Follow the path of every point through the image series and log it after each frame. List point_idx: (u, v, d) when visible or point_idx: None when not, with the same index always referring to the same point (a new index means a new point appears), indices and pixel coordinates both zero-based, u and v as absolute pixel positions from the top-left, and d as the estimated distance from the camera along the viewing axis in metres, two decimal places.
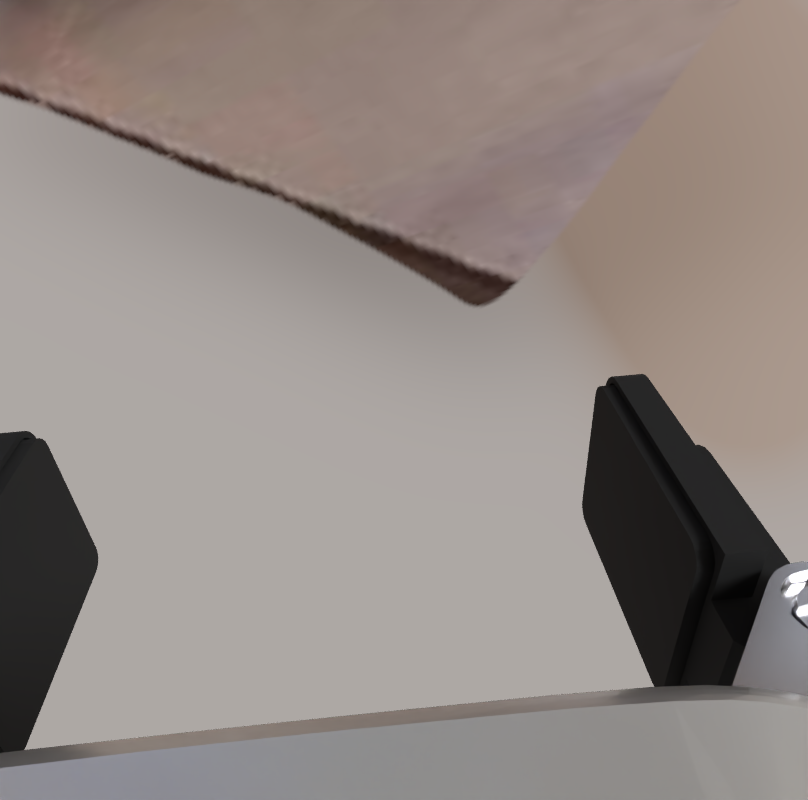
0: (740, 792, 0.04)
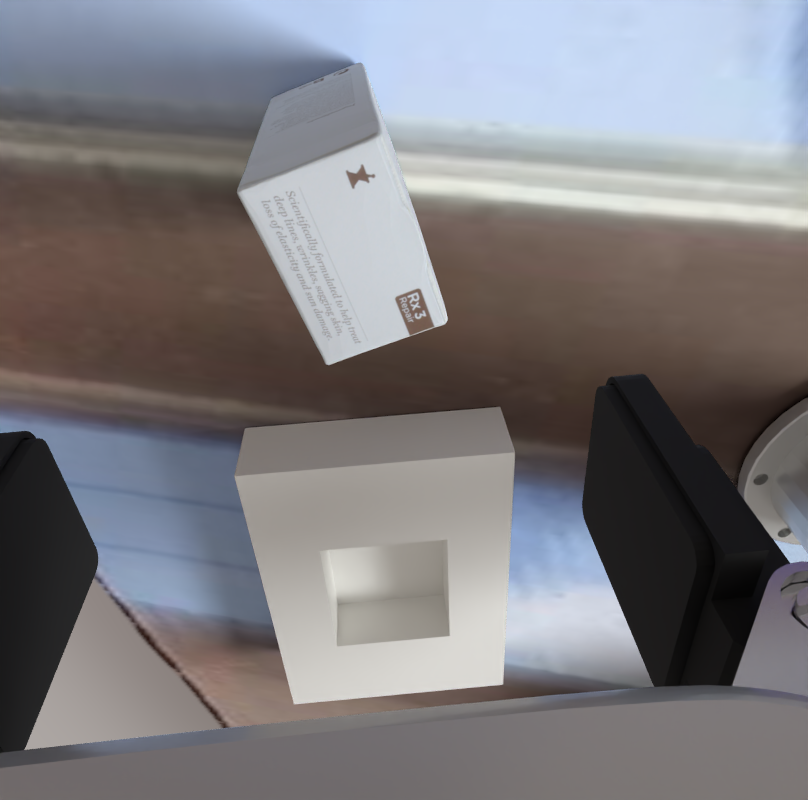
0: (740, 792, 0.04)
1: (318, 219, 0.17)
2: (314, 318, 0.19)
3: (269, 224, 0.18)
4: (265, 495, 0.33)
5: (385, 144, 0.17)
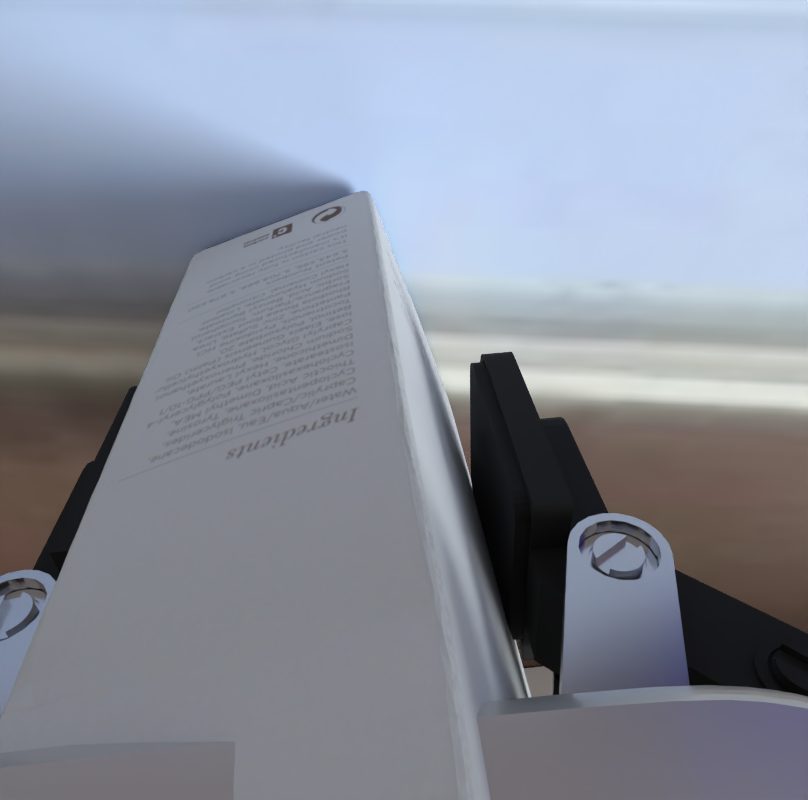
0: (739, 791, 0.04)
1: None
2: None
3: None
4: None
5: None
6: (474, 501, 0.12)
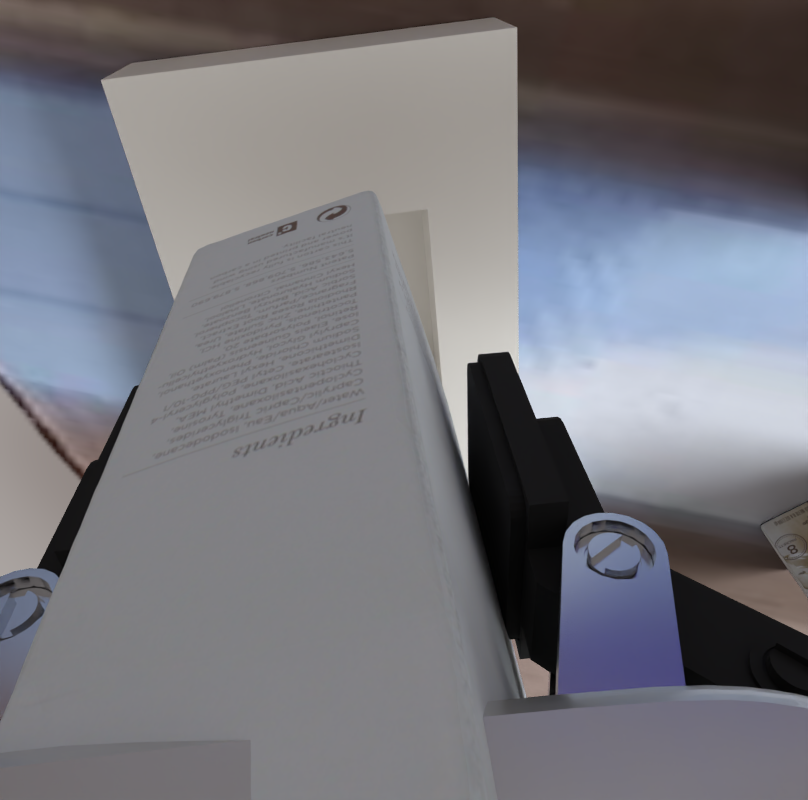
0: (739, 792, 0.04)
1: None
2: None
3: None
4: (153, 121, 0.23)
5: None
6: None
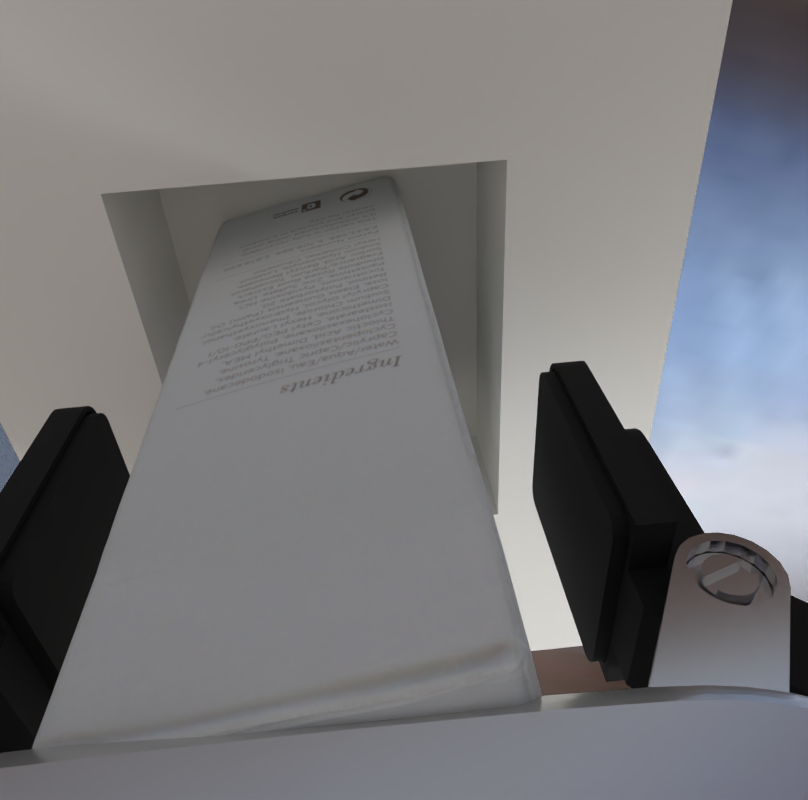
0: (740, 792, 0.04)
1: None
2: None
3: None
4: None
5: (531, 669, 0.05)
6: None
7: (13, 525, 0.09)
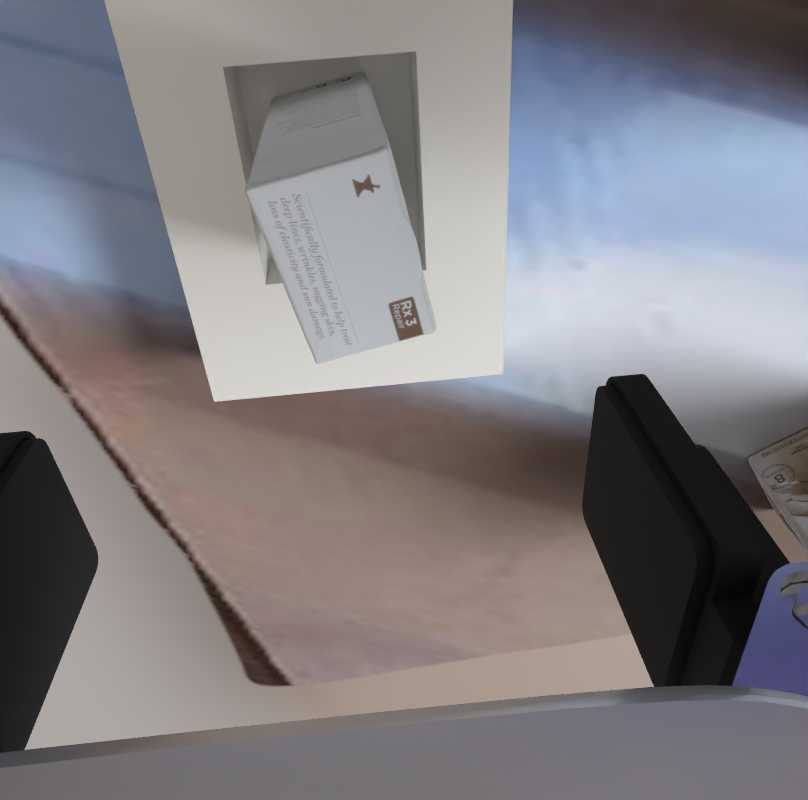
0: (740, 792, 0.04)
1: (321, 222, 0.18)
2: (309, 318, 0.20)
3: (273, 224, 0.18)
4: None
5: (392, 157, 0.17)
6: None
7: None
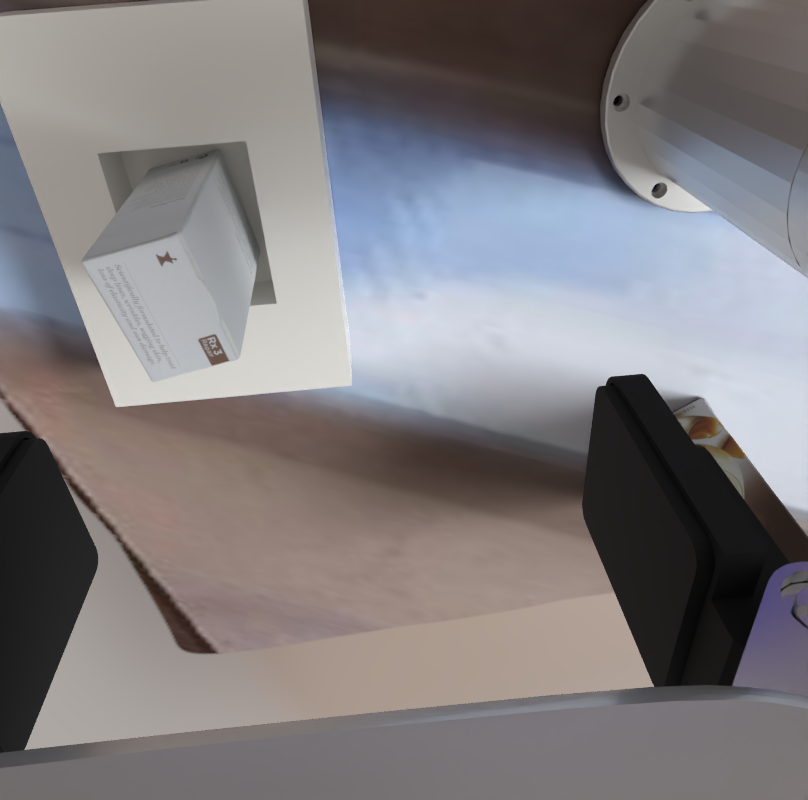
0: (740, 792, 0.04)
1: (138, 283, 0.25)
2: (140, 349, 0.27)
3: (104, 284, 0.25)
4: (13, 55, 0.29)
5: (183, 239, 0.25)
6: (247, 265, 0.33)
7: None
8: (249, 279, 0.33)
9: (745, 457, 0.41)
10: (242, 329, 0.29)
